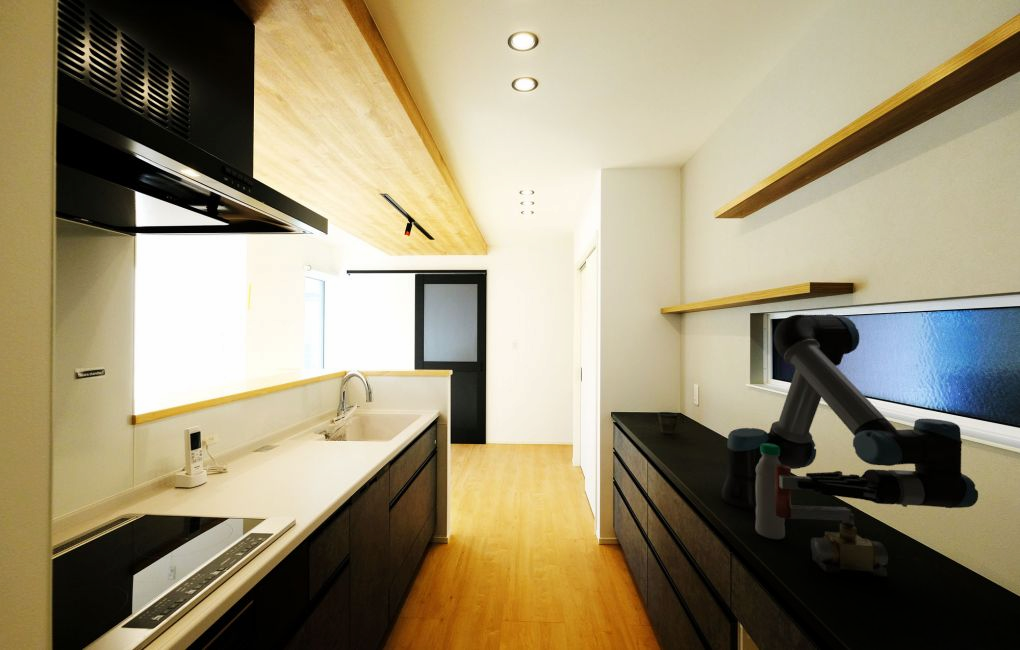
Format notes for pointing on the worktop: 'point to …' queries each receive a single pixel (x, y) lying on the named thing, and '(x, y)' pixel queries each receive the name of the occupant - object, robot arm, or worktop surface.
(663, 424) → the ceramic cup
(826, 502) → the worktop surface
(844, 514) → the valve lever
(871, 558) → the valve body
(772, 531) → the water bottle
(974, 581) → the worktop surface
